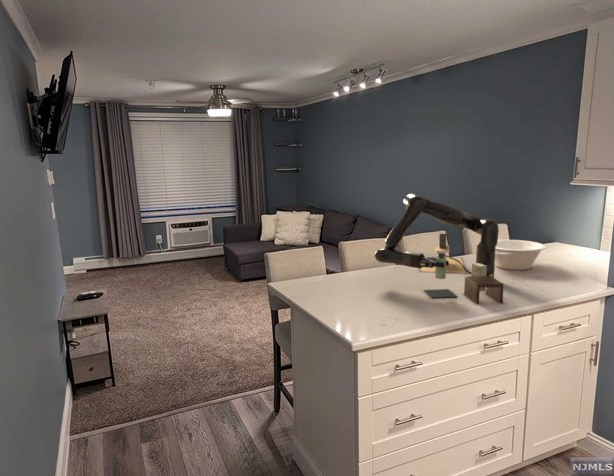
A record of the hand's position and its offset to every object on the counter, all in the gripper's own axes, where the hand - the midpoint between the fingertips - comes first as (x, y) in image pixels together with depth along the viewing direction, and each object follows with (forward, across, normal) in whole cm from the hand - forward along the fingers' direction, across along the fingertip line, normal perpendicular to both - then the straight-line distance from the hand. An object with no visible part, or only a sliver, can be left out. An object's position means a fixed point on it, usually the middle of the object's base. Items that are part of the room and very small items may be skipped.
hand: (446, 264), depth 204 cm
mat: (-2, 0, +15) cm, 15 cm away
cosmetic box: (+9, +20, +15) cm, 27 cm away
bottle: (-3, 0, +7) cm, 7 cm away
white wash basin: (+13, +75, +15) cm, 78 cm away
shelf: (+16, +4, +15) cm, 23 cm away
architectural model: (-24, +59, +16) cm, 65 cm away
